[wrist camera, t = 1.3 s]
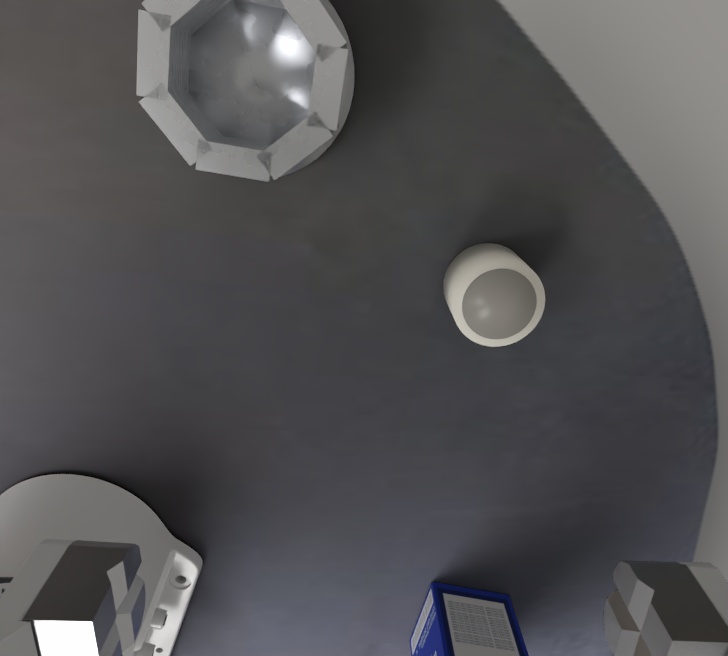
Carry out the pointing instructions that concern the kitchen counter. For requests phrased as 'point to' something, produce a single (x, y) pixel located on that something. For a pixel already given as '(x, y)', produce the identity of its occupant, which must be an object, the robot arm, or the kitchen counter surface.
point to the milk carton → (466, 624)
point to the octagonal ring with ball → (245, 81)
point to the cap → (493, 295)
